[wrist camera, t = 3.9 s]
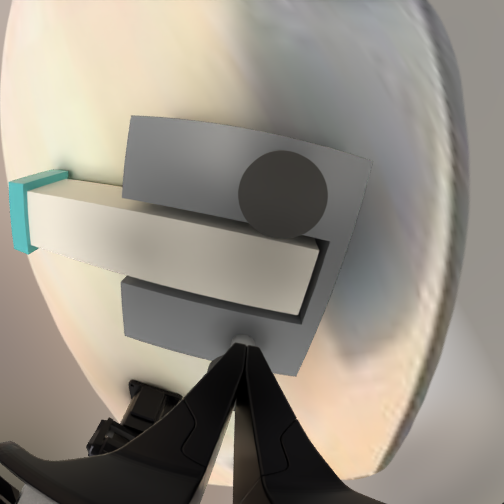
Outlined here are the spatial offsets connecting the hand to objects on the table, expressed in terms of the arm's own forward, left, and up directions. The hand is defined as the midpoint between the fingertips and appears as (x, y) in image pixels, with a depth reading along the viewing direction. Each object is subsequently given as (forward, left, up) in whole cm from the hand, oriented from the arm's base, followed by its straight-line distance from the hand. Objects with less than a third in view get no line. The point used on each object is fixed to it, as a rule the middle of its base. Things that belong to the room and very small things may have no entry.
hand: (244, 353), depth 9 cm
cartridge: (0, +8, -11) cm, 13 cm away
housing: (0, +2, -11) cm, 12 cm away
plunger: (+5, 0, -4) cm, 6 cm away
